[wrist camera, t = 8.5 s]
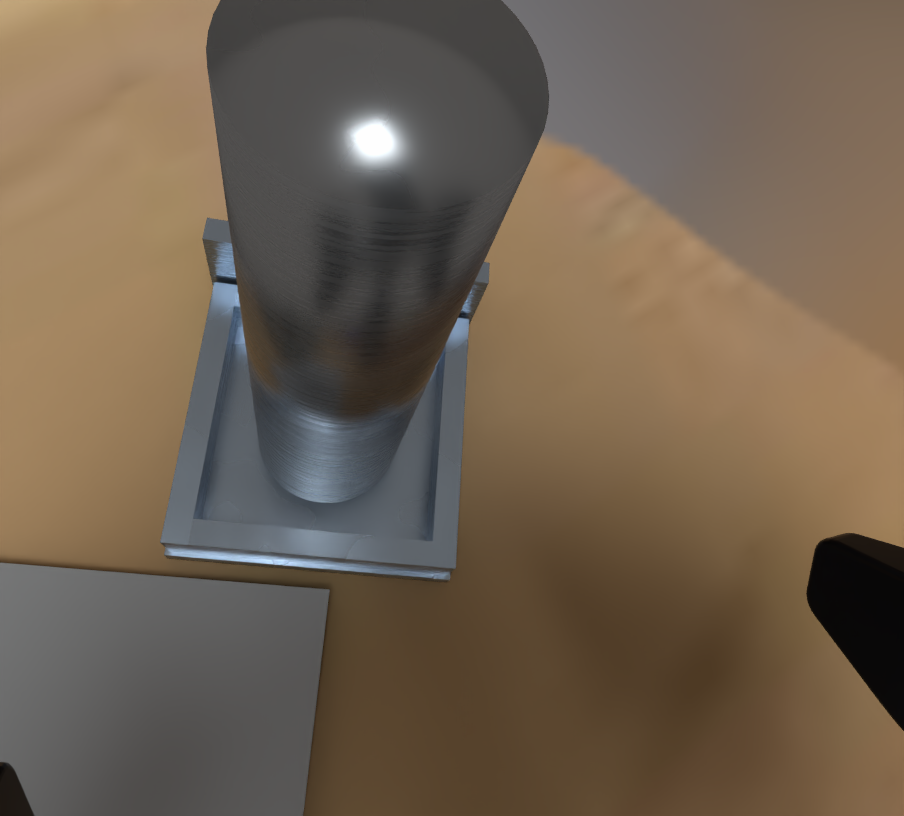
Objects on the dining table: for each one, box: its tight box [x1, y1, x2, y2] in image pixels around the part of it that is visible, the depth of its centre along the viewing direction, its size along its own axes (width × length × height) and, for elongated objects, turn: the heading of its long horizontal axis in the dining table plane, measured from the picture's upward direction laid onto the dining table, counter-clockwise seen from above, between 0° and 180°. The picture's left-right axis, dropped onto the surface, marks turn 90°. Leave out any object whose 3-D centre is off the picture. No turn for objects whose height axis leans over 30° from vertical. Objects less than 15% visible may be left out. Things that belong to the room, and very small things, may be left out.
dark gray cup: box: [206, 0, 549, 503], centre depth 13 cm, size 4×4×12 cm
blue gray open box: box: [160, 218, 489, 582], centre depth 18 cm, size 8×7×4 cm
